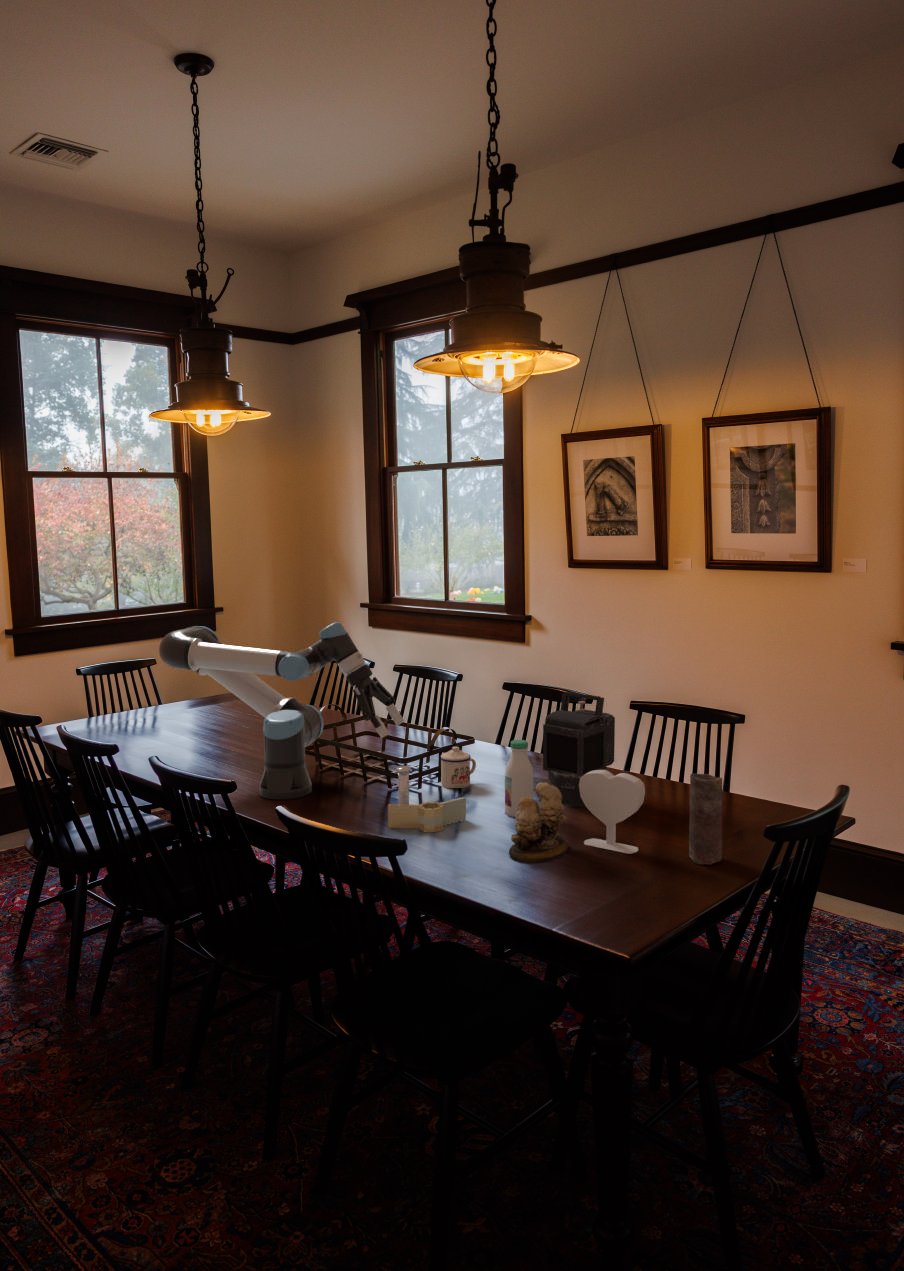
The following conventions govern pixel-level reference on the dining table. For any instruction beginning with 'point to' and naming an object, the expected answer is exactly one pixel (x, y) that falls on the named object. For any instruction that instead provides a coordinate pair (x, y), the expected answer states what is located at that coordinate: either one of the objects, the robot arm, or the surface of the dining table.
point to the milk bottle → (518, 777)
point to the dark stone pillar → (705, 819)
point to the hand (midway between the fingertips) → (393, 729)
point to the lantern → (576, 745)
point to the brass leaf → (414, 815)
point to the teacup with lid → (456, 768)
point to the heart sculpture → (611, 803)
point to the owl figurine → (539, 827)
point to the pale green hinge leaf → (448, 813)
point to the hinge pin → (403, 784)
